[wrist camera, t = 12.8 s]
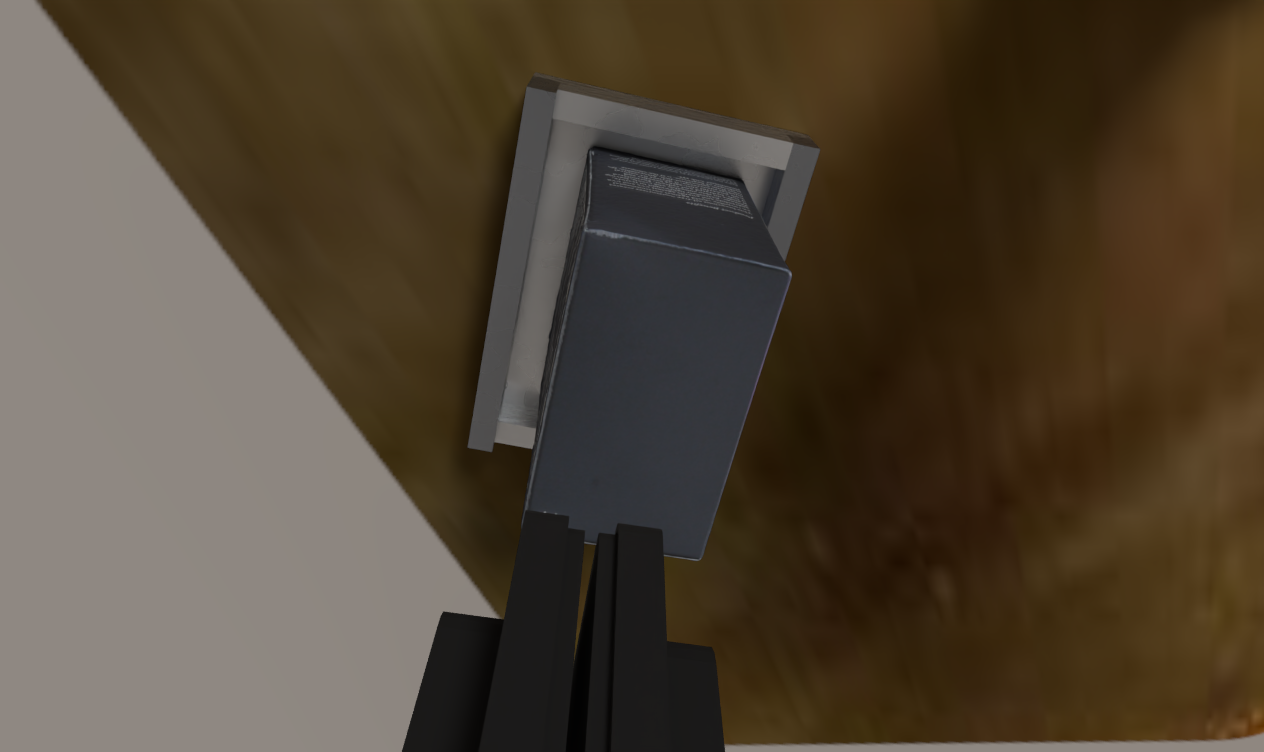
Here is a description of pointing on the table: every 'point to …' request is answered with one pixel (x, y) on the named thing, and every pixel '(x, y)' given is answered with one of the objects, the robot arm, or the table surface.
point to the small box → (653, 349)
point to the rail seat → (546, 204)
